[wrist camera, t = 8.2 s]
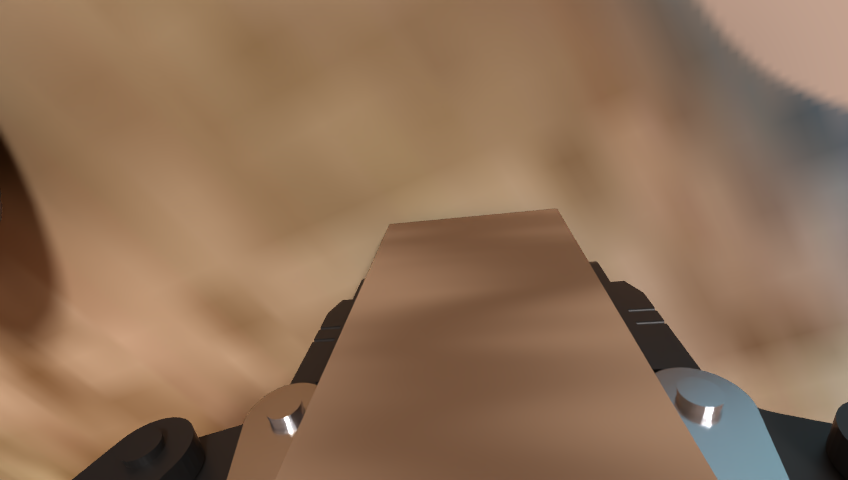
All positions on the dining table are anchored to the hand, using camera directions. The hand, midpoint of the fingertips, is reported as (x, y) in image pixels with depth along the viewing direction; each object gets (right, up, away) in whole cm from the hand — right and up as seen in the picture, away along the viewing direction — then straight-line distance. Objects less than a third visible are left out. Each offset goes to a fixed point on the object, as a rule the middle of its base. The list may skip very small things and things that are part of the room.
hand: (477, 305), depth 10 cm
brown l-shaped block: (+1, -5, +3) cm, 6 cm away
